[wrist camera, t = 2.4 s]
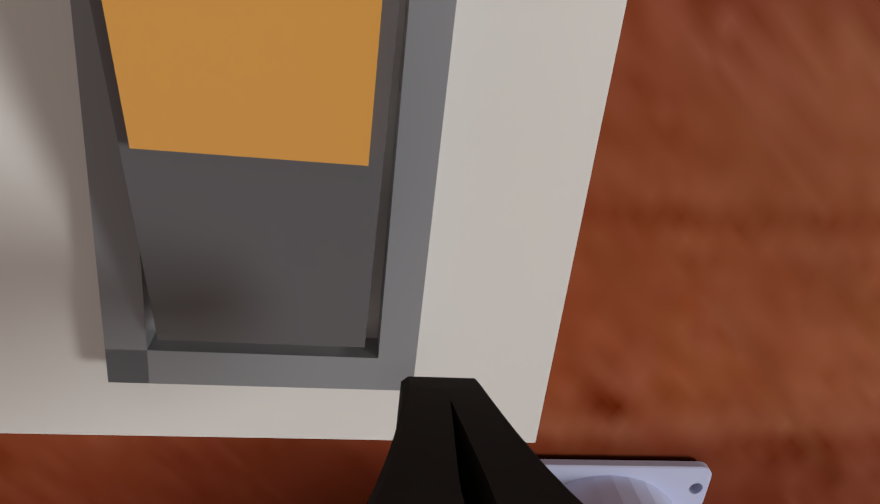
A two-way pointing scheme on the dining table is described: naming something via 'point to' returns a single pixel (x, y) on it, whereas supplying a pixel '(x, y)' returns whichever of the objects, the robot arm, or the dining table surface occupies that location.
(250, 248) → the breaker rocker
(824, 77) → the dining table surface
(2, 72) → the rocker switch base
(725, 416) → the dining table surface
